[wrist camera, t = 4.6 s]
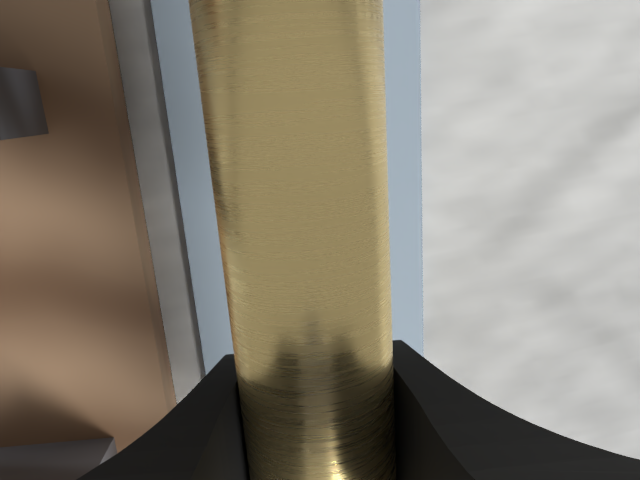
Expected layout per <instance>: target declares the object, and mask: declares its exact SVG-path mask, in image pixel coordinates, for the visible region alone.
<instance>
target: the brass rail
mask: <svg viewBox="0 0 640 480" xmlns="http://www.w3.org/2000/svg"><path fill="white" fill-rule="evenodd" d="M188 2H189V10H190V17H191V25H192V33H193V41H194V48H195V56H196V64H197V72H198V79H199V87H200V95H201V103H202V110H203V118H204V126H205V134H206V141H207V149H208V157H209V165H210V172H211V180H212V188H213V196H214V203H215V211H216V219H217V227H218V234H219V242H220V250H221V258H222V265H223V273H224V281H225V289H226V296H227V304H228V312H229V320H230V327H231V335H232V343H233V351H234V358H235V366H236V374H237V382H238V389H239V397H240V405H241V413H242V420H243V428H244V436H245V444H246V452H247V459H248V467H249V475H250V480H396V449H395V413H394V378H393V342H392V307H391V271H390V236H389V200H388V165H387V130H386V94H385V59H384V23H383V0H188Z"/></svg>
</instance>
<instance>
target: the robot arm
mask: <svg viewBox="0 0 640 480" xmlns="http://www.w3.org/2000/svg"><path fill="white" fill-rule="evenodd" d="M392 342H393V378H394V413H395V449H396V480H640V460H639V459H635V458H630V457H626V456H623V455H619V454H616V453H612V452H609V451H606V450H603V449H600V448H596V447H593V446H590V445H587V444H584V443H581V442H578V441H575V440H573V439H570V438H567V437H564V436H561V435H559V434H556V433H554V432H552V431H549V430H547V429H544V428H542V427H539V426H537V425H535V424H532V423H530V422H528V421H526V420H523V419H521V418H519V417H517V416H515V415H513V414H511V413H509V412H507V411H505V410H503V409H501V408H499V407H497V406H496V405H494V404H492V403H490V402H488V401H486V400H485V399H483V398H481V397H480V396H478V395H476V394H475V393H473V392H472V391H470V390H468V389H467V388H465V387H464V386H462V385H461V384H459V383H458V382H456V381H455V380H453V379H452V378H450V377H449V376H448V375H446V374H445V373H443V372H442V371H441V370H439V369H438V368H437V367H435V366H434V365H433V364H431V363H430V362H429V361H427V360H426V359H425V358H424V357H422V356H421V355H420V354H419V353H417V352H416V351H415V350H414V349H412V348H411V347H410V346H409V345H407V344H406V343H405V342H404V341H402V340H392ZM76 480H250V475H249V467H248V459H247V452H246V444H245V436H244V428H243V420H242V413H241V405H240V397H239V389H238V382H237V374H236V366H235V358H234V354H226V355H225V356H224V357H223V358H222V359H221V360H220V361H219V362H218V363H217V364H216V365H215V366H214V367H213V368H212V369H211V370H210V372H209V373H208V374H207V375H206V376H205V377H204V378H203V379H202V380H201V381H200V382H199V383H198V385H197V386H196V387H195V388H194V389H193V390H192V391H191V392H190V393H189V394H188V395H187V396H186V397H185V398H184V399H183V400H182V401H181V402H180V403H178V404H177V405H176V406H175V407H174V408H173V409H172V410H171V411H170V412H169V413H168V414H167V415H165V416H164V417H163V418H162V419H161V420H160V421H159V422H158V423H157V424H155V425H154V426H153V427H152V428H151V429H149V430H148V431H147V432H146V433H144V434H143V435H142V436H140V437H139V438H138V439H136V440H135V441H134V442H132V443H131V444H130V445H128V446H127V447H126V448H124V449H123V450H122V451H120V452H119V453H117V454H116V455H114V456H113V457H111V458H109V459H108V460H106V461H105V462H103V463H102V464H100V465H99V466H97V467H95V468H94V469H92V470H91V471H89V472H88V473H86V474H84V475H83V476H81V477H80V478H78V479H76Z"/></svg>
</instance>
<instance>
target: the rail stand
mask: <svg viewBox="0 0 640 480" xmlns="http://www.w3.org/2000/svg"><path fill="white" fill-rule="evenodd" d="M176 405H177V404H176V398H175V392H174V386H173V380H172V374H171V368H170V362H169V356H168V351H167V345H166V339H165V333H164V327H163V321H162V315H161V309H160V303H159V297H158V291H157V286H156V280H155V274H154V268H153V262H152V256H151V250H150V244H149V238H148V232H147V227H146V221H145V215H144V209H143V203H142V197H141V191H140V185H139V179H138V173H137V168H136V162H135V156H134V150H133V144H132V138H131V132H130V126H129V120H128V114H127V109H126V103H125V97H124V91H123V85H122V79H121V73H120V67H119V61H118V55H117V50H116V44H115V38H114V32H113V26H112V20H111V14H110V8H109V2H108V0H0V480H76V479H78V478H80V477H81V476H83V475H84V474H86V473H88V472H89V471H91V470H92V469H94V468H95V467H97V466H99V465H100V464H102V463H103V462H105V461H106V460H108V459H109V458H111V457H113V456H114V455H116V454H117V453H119V452H120V451H122V450H123V449H124V448H126V447H127V446H128V445H130V444H131V443H132V442H134V441H135V440H136V439H138V438H139V437H140V436H142V435H143V434H144V433H146V432H147V431H148V430H149V429H151V428H152V427H153V426H154V425H155V424H157V423H158V422H159V421H160V420H161V419H162V418H163V417H164V416H165V415H167V414H168V413H169V412H170V411H171V410H172V409H173V408H174V407H175V406H176Z"/></svg>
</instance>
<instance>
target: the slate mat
mask: <svg viewBox="0 0 640 480" xmlns="http://www.w3.org/2000/svg"><path fill="white" fill-rule="evenodd" d="M150 1H151V8H152V15H153V21H154V28H155V35H156V42H157V48H158V55H159V62H160V69H161V76H162V82H163V89H164V96H165V103H166V109H167V116H168V123H169V130H170V136H171V143H172V150H173V157H174V163H175V170H176V177H177V184H178V191H179V197H180V204H181V211H182V218H183V224H184V231H185V238H186V245H187V251H188V258H189V265H190V272H191V278H192V285H193V292H194V299H195V306H196V312H197V319H198V326H199V333H200V339H201V346H202V353H203V360H204V366H205V373H206V375H207V374H208V373H209V372H210V370H211V369H212V368H213V367H214V366H215V365H216V364H217V363H218V362H219V361H220V360H221V359H222V358H223V357H224V356H225V355H226V354H234V351H233V343H232V335H231V327H230V320H229V312H228V304H227V296H226V289H225V281H224V273H223V265H222V258H221V250H220V242H219V234H218V227H217V219H216V211H215V203H214V196H213V188H212V180H211V172H210V165H209V157H208V149H207V141H206V134H205V126H204V118H203V110H202V103H201V95H200V87H199V79H198V72H197V64H196V56H195V48H194V41H193V33H192V25H191V17H190V10H189V2H188V0H150ZM383 23H384V59H385V94H386V130H387V165H388V200H389V236H390V271H391V307H392V340H402V341H404V342H405V343H406V344H407V345H409V346H410V347H411V348H412V349H414V350H415V351H416V352H417V353H419V354H420V355H421V356H422V357H423V262H422V161H421V61H420V0H383Z"/></svg>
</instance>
